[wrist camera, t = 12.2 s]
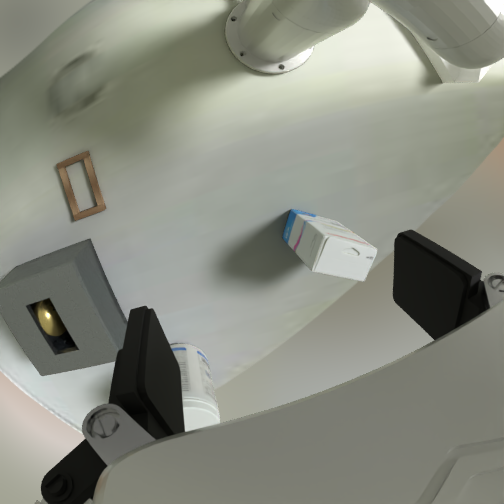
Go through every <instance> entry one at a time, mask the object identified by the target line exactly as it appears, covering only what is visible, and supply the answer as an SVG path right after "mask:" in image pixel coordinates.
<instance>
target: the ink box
mask: <svg viewBox="0 0 504 504" xmlns="http://www.w3.org/2000/svg"><path fill="white" fill-rule="evenodd" d="M282 238H283V239H284V240H285V242H286V243H287V244H288V245H289V246H290V247H291V248H292V249H293V251H294V252H295V253H296V254H297V255H298V256H299V257H300V259H301V260H302V261H303V262H304V263H305V264H306V265H307V267H308V268H309V269H310V270H311V271H312V272H316V273H321V274H327V275H332V276H337V277H342V278H347V279H352V280H358V281H363V282H364V281H365V279H366V276H367V274H368V272H369V269H370V267H371V265H372V263H373V260H374V258H375V256H376V253H377V249H376V248H375V247H373V246H372V245H370V244H369V243H368V242H366V241H365V240H363V239H362V238H360V237H359V236H358V235H356V234H355V233H353V232H352V231H350V230H349V229H347V228H346V227H344V226H343V225H342V224H340V223H339V222H337V221H335V220H331V219H327V218H324V217H320V216H316V215H313V214H309V213H305V212H302V211H298V210H294V209H291V210H290V213H289V217H288V220H287V223H286V226H285V230H284V233H283V237H282Z"/></svg>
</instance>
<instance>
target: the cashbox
mask: <svg viewBox="0 0 504 504" xmlns="http://www.w3.org/2000/svg"><path fill="white" fill-rule="evenodd" d="M47 298H50V299H51V301H52V303H53V305H54V307H55V309H56V311H57V312H58V314H59V316H60V318H61V320H62V321H63V323H64V325H65V327H66V328H67V330H66V331H65V332H64V333H63V334H62V335H59V336H51V335H47V334H46V333H45V331H44V329H43V328H42V326H41V324H40V322H39V321H38V319H37V317H36V315H35V314H34V312H33V310H32V305H33V303H35V302H38V301H41V300H44V299H47ZM0 313H1V314H2V316H3V318H4V320H5V321H6V323H7V325H8V326H9V328H10V330H11V331H12V333H13V335H14V336H15V338H16V340H17V341H18V343H19V344H20V346H21V347H22V349H23V350H24V352H25V353H26V355H27V356H28V358H29V359H30V361H31V362H32V364H33V365H34V366H35V368H36V369H37V371H38V372H39V373H40V375H41V376H45V375H51V374H56V373H62V372H67V371H72V370H77V369H82V368H87V367H91V366H96V365H101V364H105V363H110V362H114V361H116V357H117V353H118V351H119V350H120V349H123V344H124V339H125V333H126V328H127V323H128V322H127V320H126V318H125V316H124V314H123V312H122V310H121V308H120V306H119V304H118V302H117V299H116V297H115V295H114V293H113V291H112V289H111V286H110V284H109V282H108V280H107V277H106V275H105V273H104V271H103V268H102V266H101V264H100V261H99V259H98V256H97V254H96V251H95V249H94V246H93V244H92V241H91V239H87V240H84V241H81V242H79V243H76V244H73V245H70V246H68V247H65V248H62V249H60V250H57V251H54V252H52V253H49V254H46V255H44V256H41V257H39V258H36V259H34V260H31V261H29V262H26V263H24V264H21V265H19V266H16V267H15V268H14V269H13V270H12V271H11V272H10V273H9V274H8V275H7V276H6V277H5V278H4V279H3V280H2V281H1V282H0Z"/></svg>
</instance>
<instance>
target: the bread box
mask: <svg viewBox="0 0 504 504" xmlns="http://www.w3.org/2000/svg"><path fill="white" fill-rule="evenodd" d="M411 33H412V32H411ZM412 34H413V33H412ZM413 36H414V37H415V39H416V40H417V42H418V43H419V45H420V46H421V48H422V49H423V51H424V52H425V54H426V55H427V57H428V58H429V60H430V62H431V63H432V65H433V67H434V68H435V70H436V72H437V73H438V75H439V77H440V79H441V80H442V82H443V83H468V82H479V81H480V80H481V79H482V77H483V76H484V75H485V74H486V72H487V71H488V70H489V68H490V67H491V66H492V65H489V66H487V67H483V68H479V69H464V68H460V67H457V66H455V65H452V64H450V63H449V62H447V61H446V60H444V59H443V58H441V57H440V56H439V55H438V54H437V53H435V52H434V51H433V50H432V49H431V48H430V47H429V46H427V45H426V44H425V43H424V42H423V41H422V40H420V39H419V38H418V37H417V36H416V35H415V34H413Z"/></svg>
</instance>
